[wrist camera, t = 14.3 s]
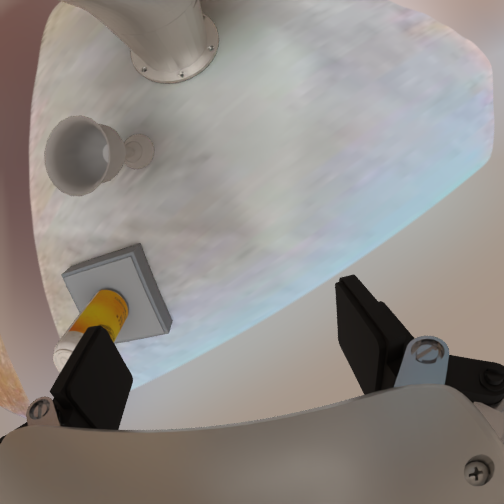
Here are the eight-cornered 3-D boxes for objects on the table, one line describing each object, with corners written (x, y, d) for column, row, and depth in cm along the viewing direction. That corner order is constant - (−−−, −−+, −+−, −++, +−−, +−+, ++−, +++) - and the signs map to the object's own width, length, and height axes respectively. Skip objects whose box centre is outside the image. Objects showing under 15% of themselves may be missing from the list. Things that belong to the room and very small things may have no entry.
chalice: (171, 152, 37) (126, 154, 20) (138, 186, 39) (78, 213, 22) (137, 117, 35) (76, 99, 18) (106, 152, 36) (33, 158, 19)
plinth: (71, 266, 42) (60, 275, 38) (140, 243, 41) (132, 252, 38) (105, 334, 46) (97, 347, 43) (172, 320, 46) (168, 334, 42)
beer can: (121, 328, 42) (88, 394, 28) (89, 307, 40) (47, 368, 26) (135, 301, 40) (101, 368, 26) (101, 279, 39) (54, 338, 25)
